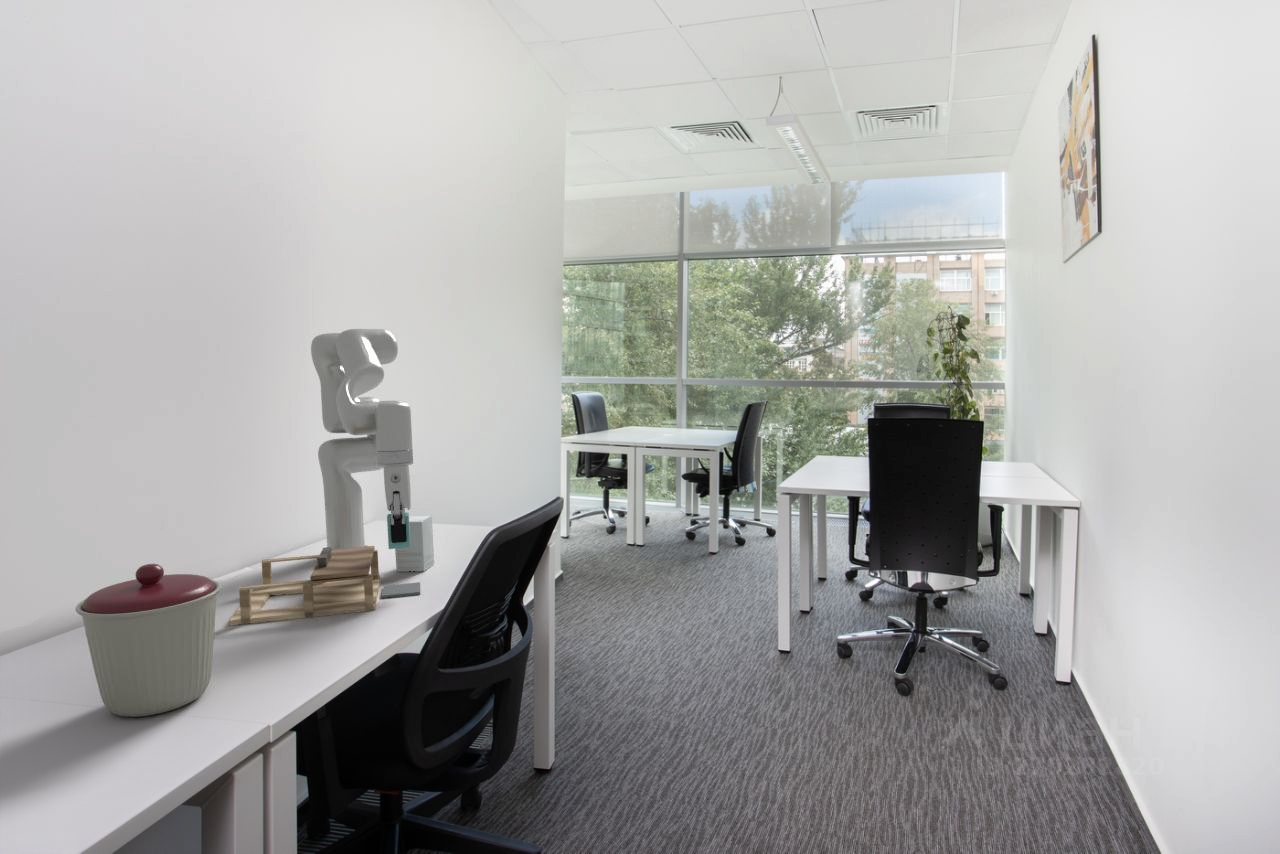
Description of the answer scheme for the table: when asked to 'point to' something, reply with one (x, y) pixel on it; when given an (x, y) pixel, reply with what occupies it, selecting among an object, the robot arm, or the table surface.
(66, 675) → the table surface
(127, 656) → the canister
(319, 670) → the table surface
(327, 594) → the light wood slatted frame
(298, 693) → the table surface
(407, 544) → the teal block
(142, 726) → the table surface
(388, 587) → the felt mat
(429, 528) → the supplement box
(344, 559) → the walnut lid
